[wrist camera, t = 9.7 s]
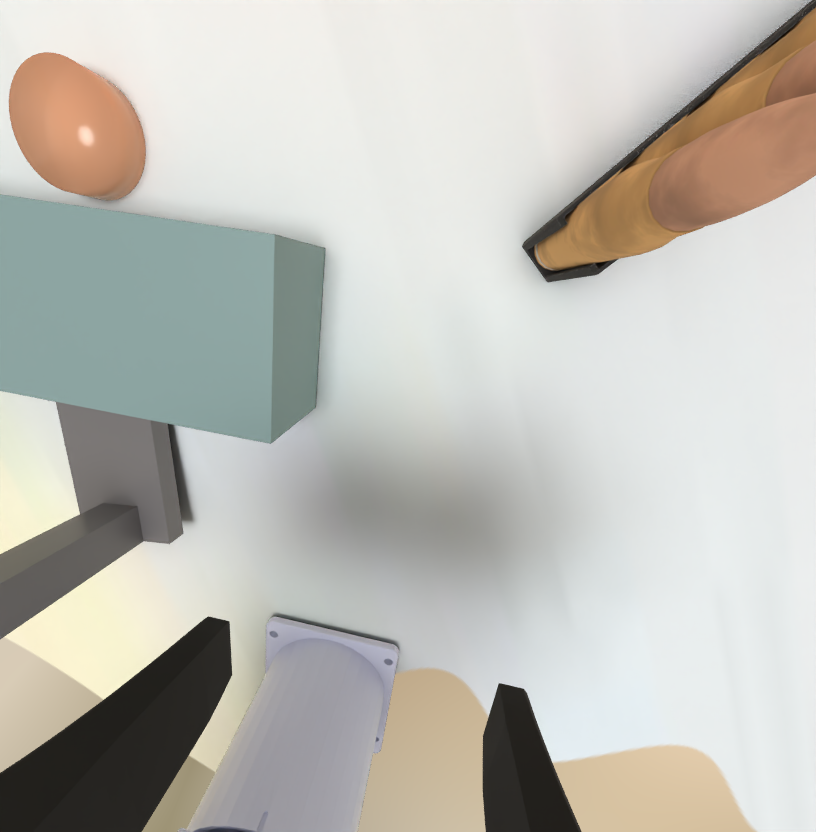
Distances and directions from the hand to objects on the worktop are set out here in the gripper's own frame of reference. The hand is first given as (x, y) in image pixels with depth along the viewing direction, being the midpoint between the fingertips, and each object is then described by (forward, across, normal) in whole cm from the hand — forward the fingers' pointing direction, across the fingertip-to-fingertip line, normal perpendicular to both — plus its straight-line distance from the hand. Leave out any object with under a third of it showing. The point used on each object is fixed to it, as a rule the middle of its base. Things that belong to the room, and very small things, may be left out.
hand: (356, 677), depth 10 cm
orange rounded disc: (+10, +15, -14) cm, 22 cm away
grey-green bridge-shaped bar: (+9, +15, -7) cm, 19 cm away
